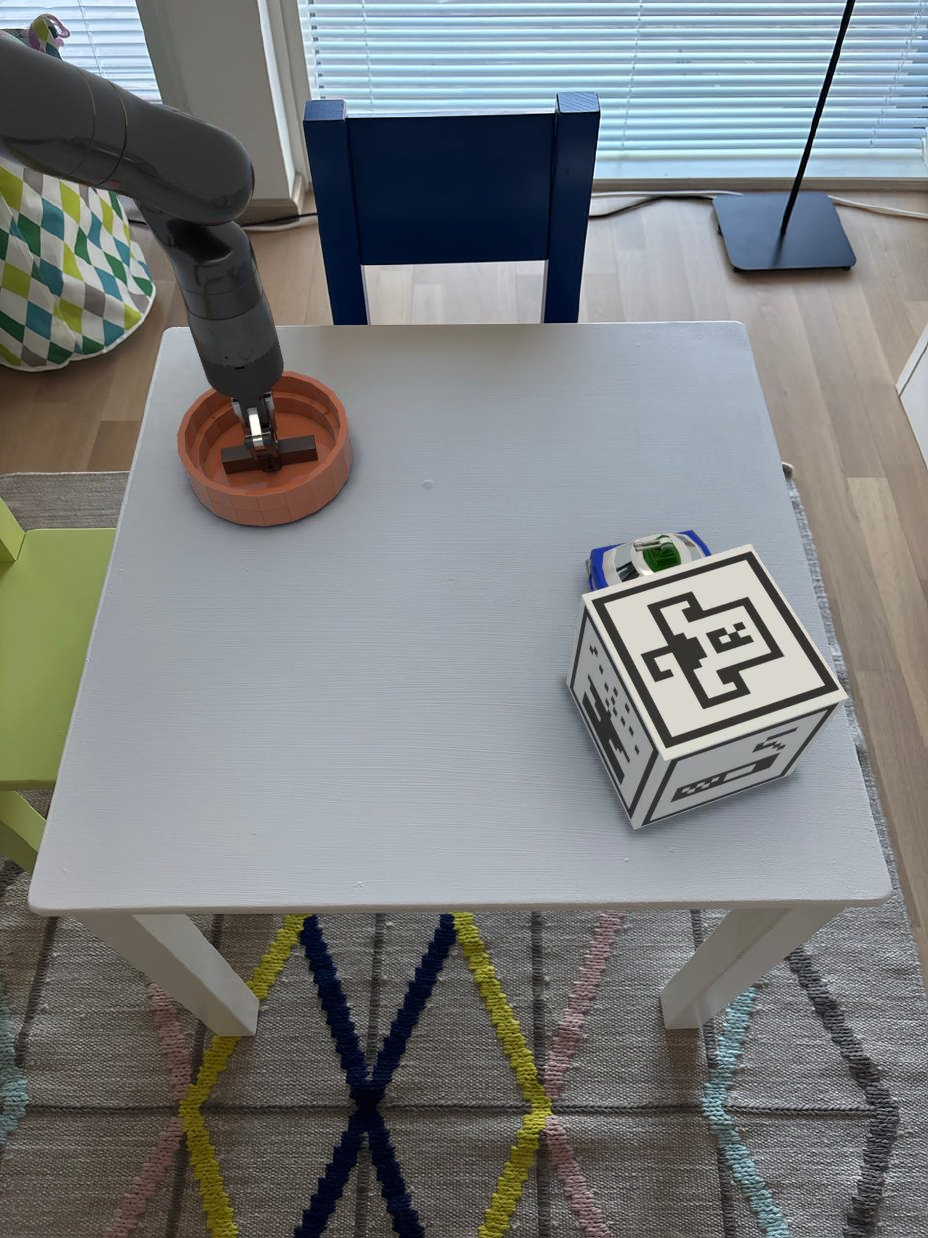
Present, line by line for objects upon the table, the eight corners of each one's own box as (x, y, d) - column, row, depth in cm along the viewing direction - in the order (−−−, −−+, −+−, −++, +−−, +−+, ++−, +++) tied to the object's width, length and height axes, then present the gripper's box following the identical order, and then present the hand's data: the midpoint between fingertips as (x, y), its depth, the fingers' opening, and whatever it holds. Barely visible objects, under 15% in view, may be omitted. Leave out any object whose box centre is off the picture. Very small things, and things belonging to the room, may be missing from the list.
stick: (318, 460, 99) (315, 447, 98) (225, 474, 98) (221, 462, 97) (316, 446, 100) (313, 434, 99) (224, 460, 99) (220, 448, 98)
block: (790, 774, 80) (849, 697, 67) (634, 830, 78) (664, 761, 65) (710, 636, 88) (750, 543, 75) (566, 683, 85) (581, 595, 73)
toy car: (577, 571, 92) (586, 512, 84) (690, 548, 93) (710, 488, 85) (605, 649, 87) (618, 594, 79) (723, 624, 88) (748, 568, 80)
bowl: (195, 541, 95) (180, 508, 90) (188, 419, 104) (174, 383, 99) (363, 513, 96) (357, 479, 92) (342, 395, 105) (335, 359, 101)
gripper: (191, 291, 88) (232, 419, 103) (197, 392, 81) (241, 514, 95) (269, 280, 88) (299, 409, 103) (282, 379, 81) (313, 503, 96)
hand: (271, 459), depth 99 cm, fingers closed on stick, 2 cm apart
